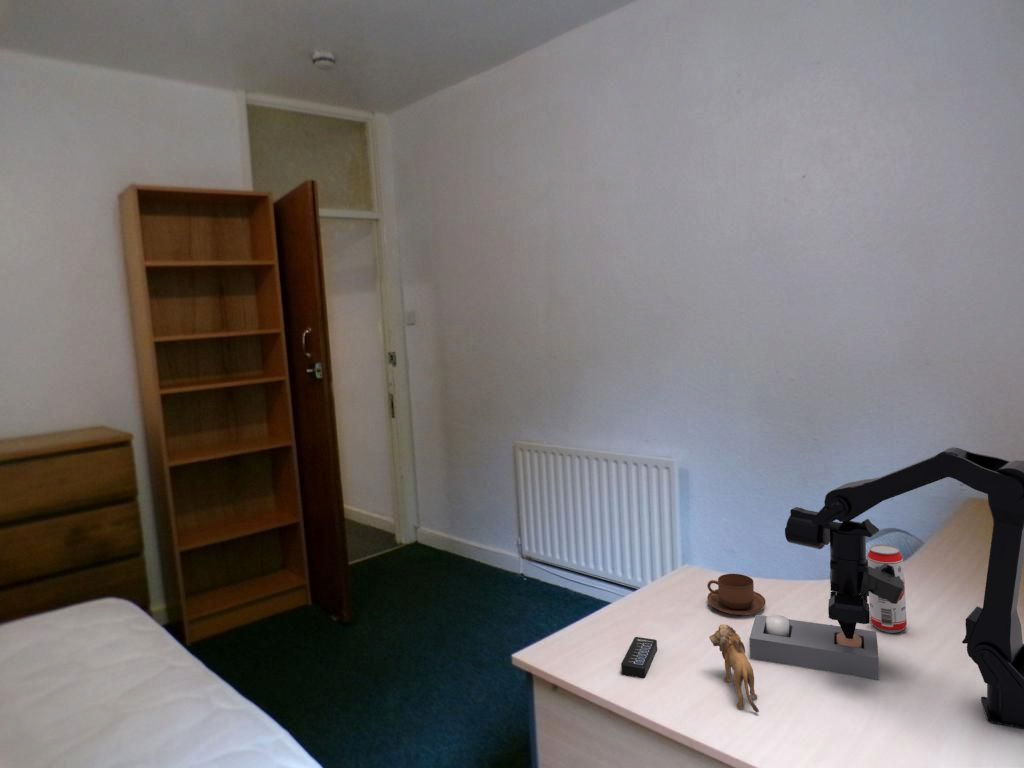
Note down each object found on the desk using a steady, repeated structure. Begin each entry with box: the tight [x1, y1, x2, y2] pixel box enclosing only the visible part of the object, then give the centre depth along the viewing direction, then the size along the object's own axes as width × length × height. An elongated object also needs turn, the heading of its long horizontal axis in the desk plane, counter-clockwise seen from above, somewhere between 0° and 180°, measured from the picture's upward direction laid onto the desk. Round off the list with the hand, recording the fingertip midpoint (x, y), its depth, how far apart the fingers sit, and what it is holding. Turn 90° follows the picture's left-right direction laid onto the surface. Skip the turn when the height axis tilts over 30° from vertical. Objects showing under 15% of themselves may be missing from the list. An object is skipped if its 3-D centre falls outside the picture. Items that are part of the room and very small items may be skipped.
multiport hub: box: [620, 636, 658, 679], centre depth 124 cm, size 4×11×2 cm, turn 156°
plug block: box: [748, 614, 880, 681], centre depth 122 cm, size 10×21×4 cm, turn 63°
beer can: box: [866, 543, 908, 634], centre depth 129 cm, size 6×6×16 cm
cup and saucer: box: [707, 573, 766, 616], centre depth 143 cm, size 12×12×6 cm
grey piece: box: [766, 614, 789, 637], centre depth 124 cm, size 4×4×4 cm
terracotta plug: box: [837, 632, 862, 648], centre depth 119 cm, size 4×4×4 cm
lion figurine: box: [708, 624, 760, 713], centre depth 112 cm, size 15×5×9 cm, turn 5°
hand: (849, 637), depth 119 cm, fingers closed, pressing on terracotta plug
